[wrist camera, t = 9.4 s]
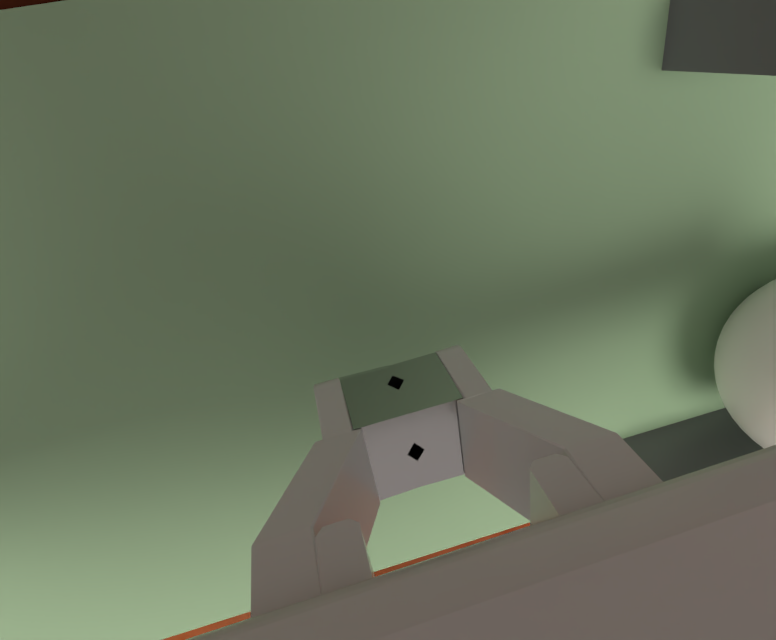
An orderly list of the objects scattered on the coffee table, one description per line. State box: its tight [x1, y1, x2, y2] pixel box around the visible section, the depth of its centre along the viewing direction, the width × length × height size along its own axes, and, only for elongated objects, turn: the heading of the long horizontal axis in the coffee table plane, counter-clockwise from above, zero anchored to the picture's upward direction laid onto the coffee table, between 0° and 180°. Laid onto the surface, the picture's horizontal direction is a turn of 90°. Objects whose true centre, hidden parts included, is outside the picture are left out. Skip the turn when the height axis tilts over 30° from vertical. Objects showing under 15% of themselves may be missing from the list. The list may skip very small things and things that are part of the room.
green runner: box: [0, 0, 776, 640], centre depth 12 cm, size 15×28×1 cm, turn 98°
